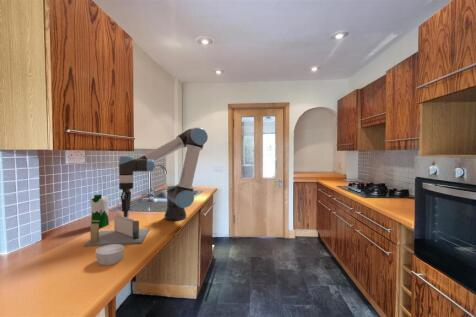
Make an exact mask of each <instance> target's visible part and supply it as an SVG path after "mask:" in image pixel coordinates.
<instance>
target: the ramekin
mask: <svg viewBox="0 0 476 317" xmlns="http://www.w3.org/2000/svg"><path fill="white" fill-rule="evenodd" d="M124 251H125V246H124V244H123V245H121V244H110V245H104V246H99V247H98V248H96V250H95V252H94V253H95V257H96V263H98V264H99V265H100V266H110V265H111V266H112V265H116V264H118V263H119V262H121V261H122V259H123V257H124Z"/></svg>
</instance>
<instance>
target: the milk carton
mask: <svg viewBox="0 0 476 317" xmlns="http://www.w3.org/2000/svg"><path fill="white" fill-rule="evenodd" d="M89 199H90V200H89V201H90V204H91V208H90V210H91V216H90V217H91V223H90V225H91V224H99V229H103V228H105V227H107V226H109V224H110V223H109V202H110V201H109V200H110V196H103V195H102V194H94V195H93V197H92V198H89Z"/></svg>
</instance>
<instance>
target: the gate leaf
mask: <svg viewBox="0 0 476 317" xmlns="http://www.w3.org/2000/svg"><path fill="white" fill-rule="evenodd" d="M113 221H114V222H113V223H114V224H113V225H114V226H113V227H114V231H117V232H120V233H123V234H125V235H128V236H131V237H133V221H135V220H134V219H132V218H130V217H129V218H126V217H123V216H122V215H119V214H117V215H114V217H113Z"/></svg>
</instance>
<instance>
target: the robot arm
mask: <svg viewBox="0 0 476 317" xmlns="http://www.w3.org/2000/svg"><path fill="white" fill-rule="evenodd" d="M208 138H209V137H208V133H207V132H206V130H205V129H204V128H202V127H193V128H188V129H186V130H185V131H182V133H179V134H178V135H176V137H175V138H174V139H172V140H170V141H169V142H167V143H165V144H163V145H161V146H159V147H157V148H155V149H154V150H152V151H150V152H148V153H146V154H143V155H142V156H140V157H138V158H135V159H134V156H133V155H121V156H119V160H118V174H119V175H118V181H119V183H118V189H119V190H122V192H121V195H120V199H121V212H123V213H122V214H123V217H126V218H129V219H130V211H131V198H132V197H131V196H132V192H131V190H133V189H134V173H137V172H138V173H139V172H147V173H148V172H153V171H154V169H155V163H156V162H158V161H160V160H161V159H164V158H166V157H168V156H169V155H171V154H173V153H174V152H176V151H178V150H180V149H185V148H186V153H185V158H184V162H183V164H182V165H183V166H182V169H181V175H180V178H179V183H177V184H176V185H169V186H167V188H166V209H165V212H164V219H165V220H166V221H182V220H185V219H186V218H187V213H186V208H189V207H190V206H191V205H192V204H193V203H194V200H195V197H194V196H195V195H194V193H193V192H194V189H195V188H194V186H193V183H194V180H195V173H196V169H197V164H198V160H199V156H200V152H201V151H202V150H203V148H204V145H205V143H207V141H208Z"/></svg>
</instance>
